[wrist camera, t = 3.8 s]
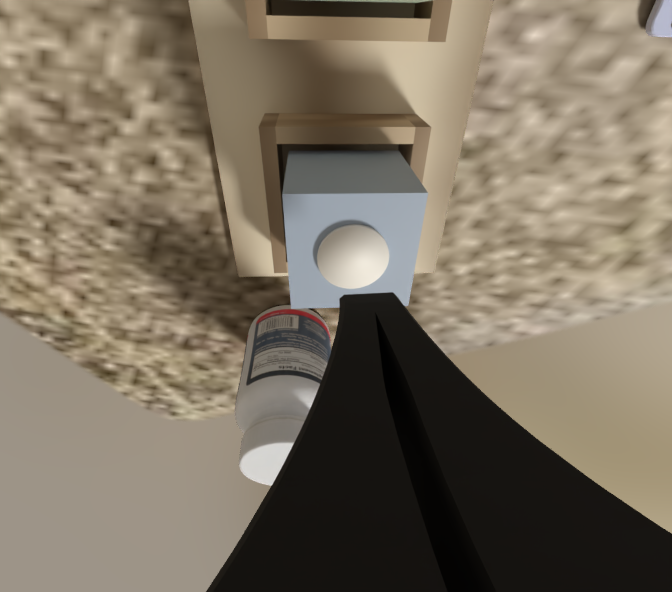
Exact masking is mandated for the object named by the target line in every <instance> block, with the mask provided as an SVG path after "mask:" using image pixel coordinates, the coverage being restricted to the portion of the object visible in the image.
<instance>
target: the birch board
mask: <svg viewBox="0 0 672 592" xmlns="http://www.w3.org/2000/svg"><path fill="white" fill-rule="evenodd" d="M493 1H494V0H432V1H425V2H419V3H393V2H350V1H306V0H188V2H189V7H190V13H191V18H192V24H193V29H194V35H195V40H196V46H197V51H198V57H199V62H200V68H201V73H202V79H203V84H204V90H205V95H206V101H207V106H208V112H209V118H210V123H211V129H212V134H213V140H214V145H215V151H216V156H217V162H218V167H219V173H220V178H221V184H222V189H223V195H224V200H225V206H226V211H227V217H228V222H229V228H230V233H231V239H232V245H233V250H234V256H235V261H236V267H237V272H238V277H260V276H289V275H288V262H287V249H286V236H285V224H284V211H283V198H282V192H283V185H284V179H285V172H286V165H287V159H288V152H289V151H315V150H399V152H400V153H401V155H402V156H403V157H404V159H405V160H406V162H407V163H408V165H409V166H410V167H411V169H412V170H413V172H414V173H415V175H416V176H417V178H418V179H419V180H420V182H421V183H422V185H423V186H424V188H425V189H426V190H427V192H428V197H427V203H426V208H425V214H424V219H423V225H422V231H421V236H420V242H419V248H418V253H417V259H416V264H415V270H414V273H434V271H435V267H436V262H437V257H438V253H439V248H440V244H441V239H442V235H443V230H444V225H445V221H446V216H447V212H448V207H449V202H450V198H451V193H452V189H453V184H454V180H455V175H456V170H457V166H458V161H459V157H460V152H461V148H462V143H463V138H464V134H465V129H466V125H467V120H468V116H469V111H470V106H471V102H472V97H473V93H474V88H475V84H476V79H477V74H478V70H479V65H480V61H481V56H482V51H483V47H484V42H485V38H486V33H487V29H488V24H489V19H490V15H491V10H492V6H493Z"/></svg>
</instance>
